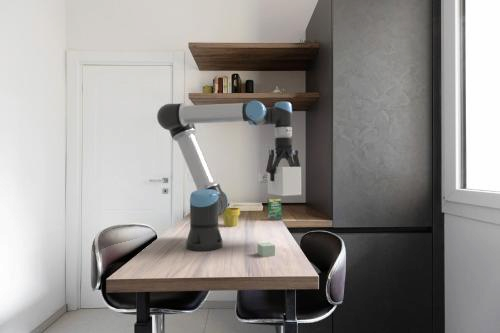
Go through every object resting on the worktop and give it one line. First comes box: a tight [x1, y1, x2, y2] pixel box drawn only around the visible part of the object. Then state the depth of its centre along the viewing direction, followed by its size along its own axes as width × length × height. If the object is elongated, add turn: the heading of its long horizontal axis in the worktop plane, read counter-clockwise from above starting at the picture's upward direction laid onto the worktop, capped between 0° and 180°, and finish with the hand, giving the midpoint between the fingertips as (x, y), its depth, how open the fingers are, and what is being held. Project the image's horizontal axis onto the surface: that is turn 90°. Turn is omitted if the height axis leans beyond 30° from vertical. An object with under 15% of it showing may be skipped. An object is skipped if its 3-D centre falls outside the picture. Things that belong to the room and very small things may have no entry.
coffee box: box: [267, 198, 282, 221], centre depth 203 cm, size 8×3×13 cm, turn 101°
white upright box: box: [267, 166, 302, 197], centre depth 144 cm, size 9×13×12 cm
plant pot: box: [221, 206, 241, 228], centre depth 184 cm, size 10×10×10 cm
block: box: [257, 242, 276, 258], centre depth 124 cm, size 5×5×4 cm
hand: (283, 188), depth 144 cm, fingers closed on white upright box, 9 cm apart
